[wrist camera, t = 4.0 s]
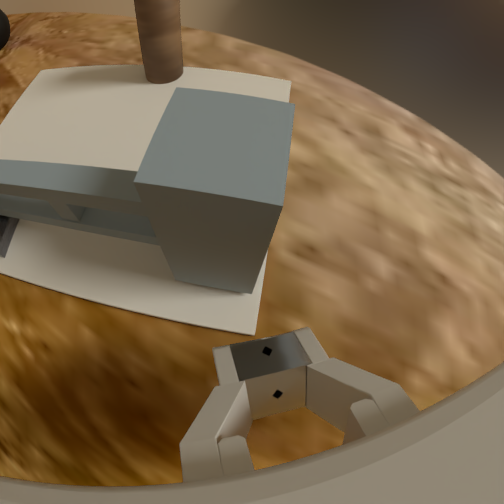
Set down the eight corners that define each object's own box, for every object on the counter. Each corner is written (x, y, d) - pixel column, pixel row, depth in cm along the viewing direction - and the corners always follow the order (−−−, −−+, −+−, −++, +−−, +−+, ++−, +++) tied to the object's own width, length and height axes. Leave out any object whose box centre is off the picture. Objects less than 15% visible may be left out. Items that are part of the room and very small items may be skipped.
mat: (-59, 251, 16) (-61, 249, 15) (42, 72, 23) (41, 70, 23) (253, 336, 16) (254, 335, 16) (290, 84, 24) (291, 81, 24)
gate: (-32, 231, 16) (-106, 163, 8) (-10, 183, 18) (-71, 107, 9) (251, 294, 16) (283, 205, 8) (262, 225, 18) (295, 103, 10)
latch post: (140, 86, 23) (123, -18, 13) (154, 65, 24) (143, -32, 15) (176, 89, 23) (168, -21, 14) (188, 67, 24) (184, -34, 15)
